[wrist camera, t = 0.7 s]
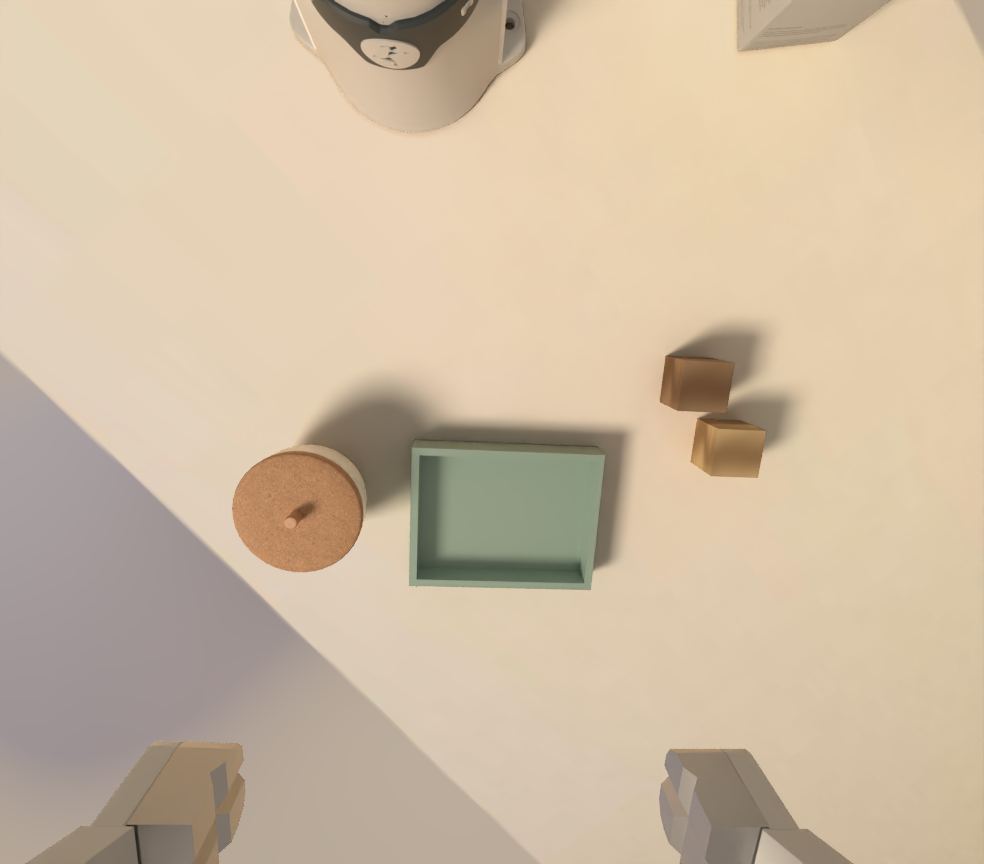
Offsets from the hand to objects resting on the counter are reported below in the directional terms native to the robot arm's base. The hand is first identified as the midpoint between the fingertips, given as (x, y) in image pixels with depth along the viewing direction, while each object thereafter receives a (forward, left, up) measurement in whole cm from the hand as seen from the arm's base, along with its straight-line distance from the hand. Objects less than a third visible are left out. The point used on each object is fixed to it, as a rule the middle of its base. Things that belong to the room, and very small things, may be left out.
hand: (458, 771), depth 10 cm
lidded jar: (+9, -14, -41) cm, 44 cm away
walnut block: (-3, +21, -41) cm, 46 cm away
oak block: (+3, +25, -41) cm, 48 cm away
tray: (+11, +4, -41) cm, 42 cm away
